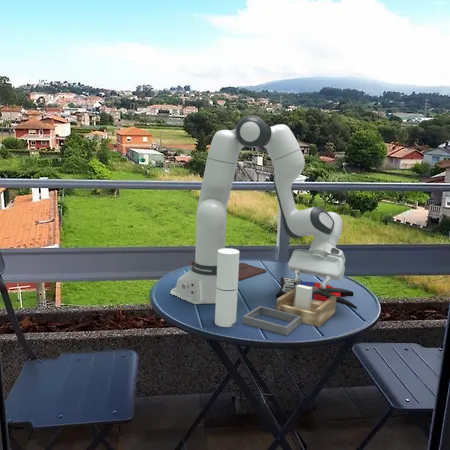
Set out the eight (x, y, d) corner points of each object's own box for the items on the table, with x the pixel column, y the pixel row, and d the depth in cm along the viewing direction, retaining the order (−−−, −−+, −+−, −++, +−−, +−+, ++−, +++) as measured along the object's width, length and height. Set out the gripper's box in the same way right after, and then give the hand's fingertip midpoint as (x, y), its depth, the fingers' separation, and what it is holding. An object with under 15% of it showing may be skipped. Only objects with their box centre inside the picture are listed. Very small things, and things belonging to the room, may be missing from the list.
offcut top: (293, 302, 173) (293, 298, 173) (298, 299, 177) (298, 295, 176) (319, 309, 168) (319, 305, 168) (323, 306, 171) (324, 302, 171)
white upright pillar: (294, 316, 168) (296, 286, 166) (296, 314, 171) (299, 284, 168) (307, 319, 166) (309, 289, 164) (310, 317, 168) (312, 287, 166)
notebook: (266, 273, 222) (266, 269, 222) (239, 282, 208) (239, 277, 207) (241, 266, 232) (241, 262, 232) (213, 274, 217) (213, 270, 217)
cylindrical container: (210, 322, 163) (213, 250, 158) (224, 316, 168) (227, 247, 163) (226, 329, 158) (229, 255, 153) (240, 323, 163) (243, 251, 158)
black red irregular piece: (274, 304, 183) (355, 314, 178) (275, 295, 182) (357, 305, 177) (280, 283, 208) (351, 292, 203) (280, 275, 208) (352, 283, 202)
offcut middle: (293, 306, 173) (293, 303, 173) (297, 303, 177) (297, 299, 176) (320, 312, 169) (320, 308, 168) (323, 309, 172) (323, 305, 172)
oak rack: (275, 318, 169) (276, 299, 167) (293, 304, 182) (295, 287, 181) (319, 329, 161) (320, 309, 159) (334, 314, 174) (336, 296, 173)
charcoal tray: (242, 326, 161) (242, 316, 160) (258, 315, 171) (259, 305, 170) (286, 338, 153) (287, 328, 152) (301, 326, 163) (301, 316, 162)
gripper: (293, 243, 179) (280, 274, 173) (347, 252, 169) (335, 286, 163) (296, 252, 184) (284, 283, 178) (349, 261, 174) (338, 295, 167)
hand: (309, 284), depth 170 cm, fingers open, 8 cm apart
